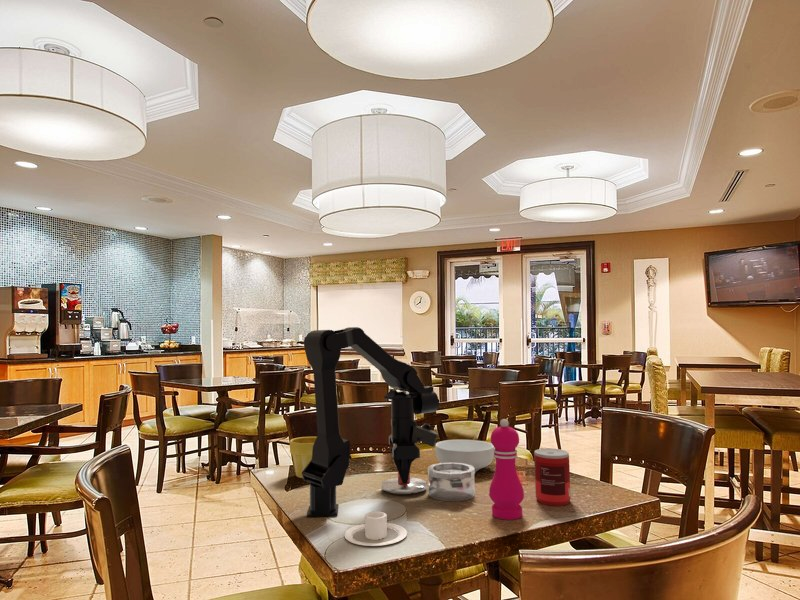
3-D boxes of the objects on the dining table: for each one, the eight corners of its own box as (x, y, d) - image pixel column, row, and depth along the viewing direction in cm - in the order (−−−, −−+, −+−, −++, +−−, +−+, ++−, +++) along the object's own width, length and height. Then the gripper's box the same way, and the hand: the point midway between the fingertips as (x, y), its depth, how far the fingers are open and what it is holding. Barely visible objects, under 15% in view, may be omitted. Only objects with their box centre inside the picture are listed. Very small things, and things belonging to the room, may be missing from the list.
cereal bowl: (484, 480, 140) (484, 452, 140) (426, 473, 147) (426, 448, 147) (501, 465, 155) (501, 440, 155) (448, 460, 162) (447, 437, 163)
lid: (429, 496, 126) (429, 469, 127) (382, 498, 125) (382, 470, 126) (423, 483, 137) (423, 458, 138) (380, 485, 137) (380, 460, 137)
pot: (482, 503, 120) (481, 475, 120) (433, 505, 119) (433, 477, 119) (467, 484, 136) (466, 459, 136) (424, 485, 135) (424, 461, 135)
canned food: (555, 494, 126) (554, 447, 127) (578, 503, 119) (576, 453, 120) (528, 498, 124) (527, 450, 124) (550, 508, 116) (548, 456, 117)
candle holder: (339, 530, 106) (338, 508, 106) (396, 523, 109) (396, 501, 110) (352, 553, 94) (351, 528, 95) (415, 544, 98) (415, 520, 98)
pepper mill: (499, 522, 108) (496, 422, 109) (484, 511, 115) (481, 417, 116) (531, 518, 110) (527, 420, 111) (514, 507, 117) (511, 415, 118)
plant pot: (331, 470, 152) (331, 436, 153) (322, 480, 142) (322, 443, 142) (296, 470, 153) (295, 436, 154) (284, 480, 143) (284, 443, 143)
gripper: (440, 421, 124) (442, 489, 123) (429, 410, 143) (430, 469, 142) (393, 422, 123) (394, 491, 122) (388, 411, 142) (389, 471, 141)
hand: (403, 480), depth 132 cm, fingers open, 5 cm apart
